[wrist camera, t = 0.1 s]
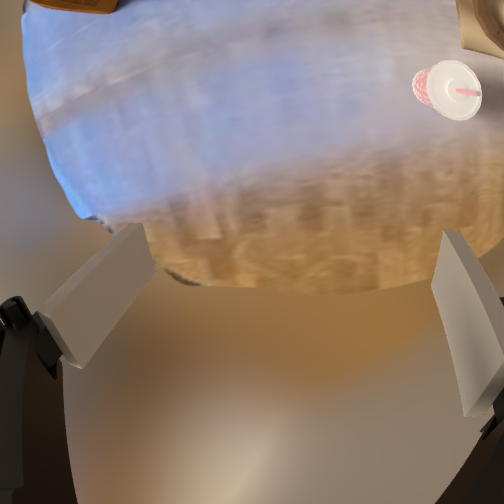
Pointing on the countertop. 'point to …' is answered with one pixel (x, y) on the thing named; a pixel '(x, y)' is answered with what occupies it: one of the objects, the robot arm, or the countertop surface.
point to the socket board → (474, 30)
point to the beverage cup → (449, 89)
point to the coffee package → (79, 5)
